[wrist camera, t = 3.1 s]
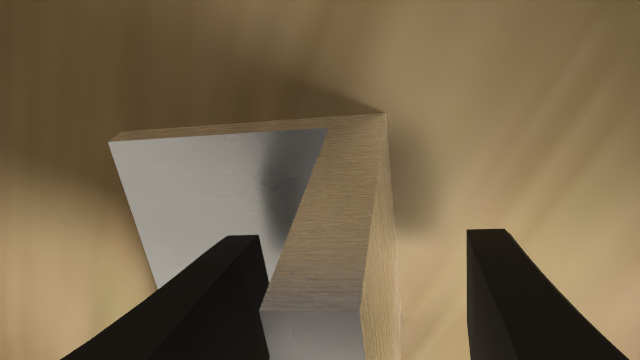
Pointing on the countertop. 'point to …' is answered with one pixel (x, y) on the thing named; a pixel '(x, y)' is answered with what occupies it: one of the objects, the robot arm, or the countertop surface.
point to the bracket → (280, 222)
